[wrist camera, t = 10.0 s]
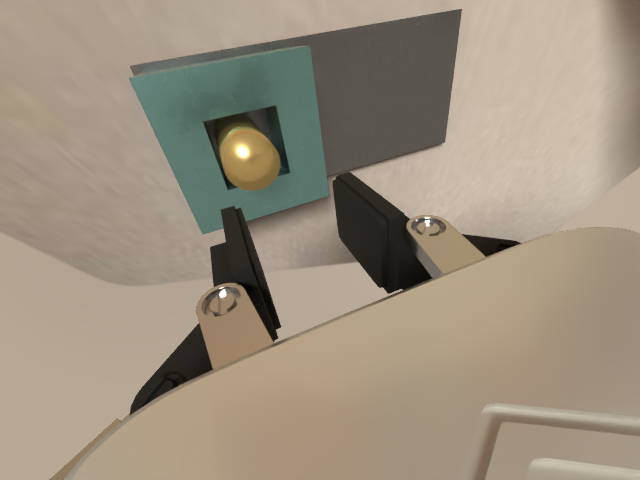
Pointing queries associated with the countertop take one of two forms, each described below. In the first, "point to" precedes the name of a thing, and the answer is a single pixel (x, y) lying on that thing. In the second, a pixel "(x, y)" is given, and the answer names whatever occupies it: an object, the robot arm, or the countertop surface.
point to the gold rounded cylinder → (246, 153)
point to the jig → (302, 107)
